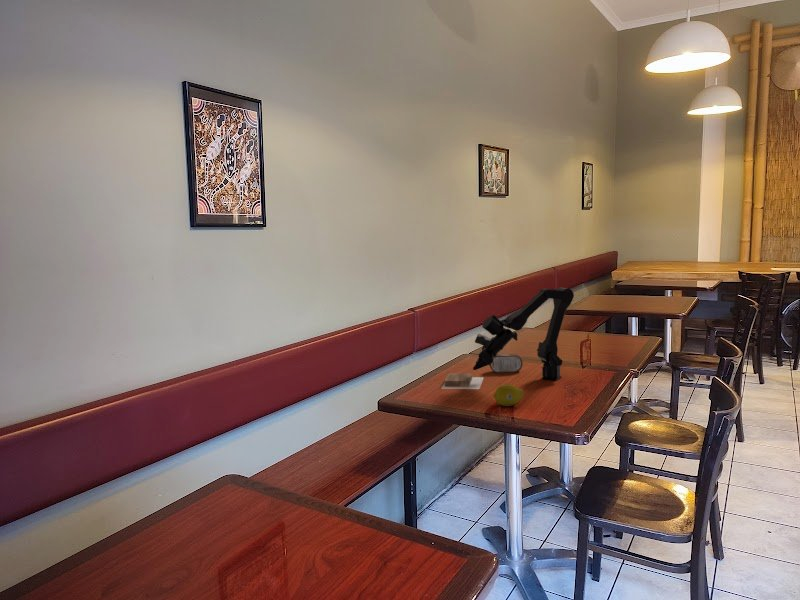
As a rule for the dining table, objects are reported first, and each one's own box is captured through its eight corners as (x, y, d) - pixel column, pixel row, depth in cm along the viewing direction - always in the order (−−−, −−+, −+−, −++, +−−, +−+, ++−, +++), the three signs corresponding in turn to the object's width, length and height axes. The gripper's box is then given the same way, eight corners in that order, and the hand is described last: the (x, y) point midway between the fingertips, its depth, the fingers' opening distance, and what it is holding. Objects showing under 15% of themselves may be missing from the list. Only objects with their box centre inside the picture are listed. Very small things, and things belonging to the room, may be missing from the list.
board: (471, 373, 251) (449, 373, 254) (468, 381, 240) (444, 380, 242) (472, 379, 252) (449, 378, 254) (468, 386, 240) (444, 386, 243)
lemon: (492, 408, 212) (491, 387, 211) (495, 401, 219) (494, 381, 218) (522, 409, 209) (521, 388, 208) (524, 403, 216) (523, 382, 215)
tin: (522, 370, 262) (522, 352, 261) (523, 372, 259) (522, 354, 258) (489, 371, 264) (488, 353, 263) (489, 373, 260) (488, 355, 259)
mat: (483, 378, 253) (483, 377, 253) (479, 389, 236) (479, 389, 236) (447, 377, 257) (447, 376, 257) (440, 389, 240) (440, 388, 240)
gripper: (488, 323, 250) (464, 348, 254) (483, 332, 232) (457, 358, 236) (507, 341, 249) (482, 366, 253) (503, 351, 231) (477, 377, 235)
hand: (475, 366), depth 245 cm, fingers open, 9 cm apart
